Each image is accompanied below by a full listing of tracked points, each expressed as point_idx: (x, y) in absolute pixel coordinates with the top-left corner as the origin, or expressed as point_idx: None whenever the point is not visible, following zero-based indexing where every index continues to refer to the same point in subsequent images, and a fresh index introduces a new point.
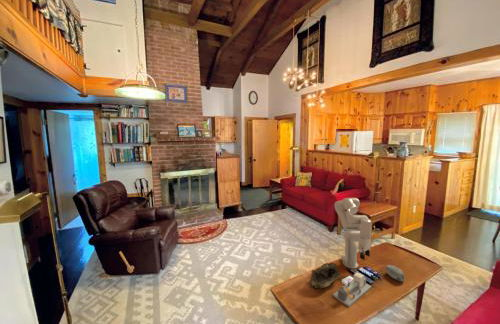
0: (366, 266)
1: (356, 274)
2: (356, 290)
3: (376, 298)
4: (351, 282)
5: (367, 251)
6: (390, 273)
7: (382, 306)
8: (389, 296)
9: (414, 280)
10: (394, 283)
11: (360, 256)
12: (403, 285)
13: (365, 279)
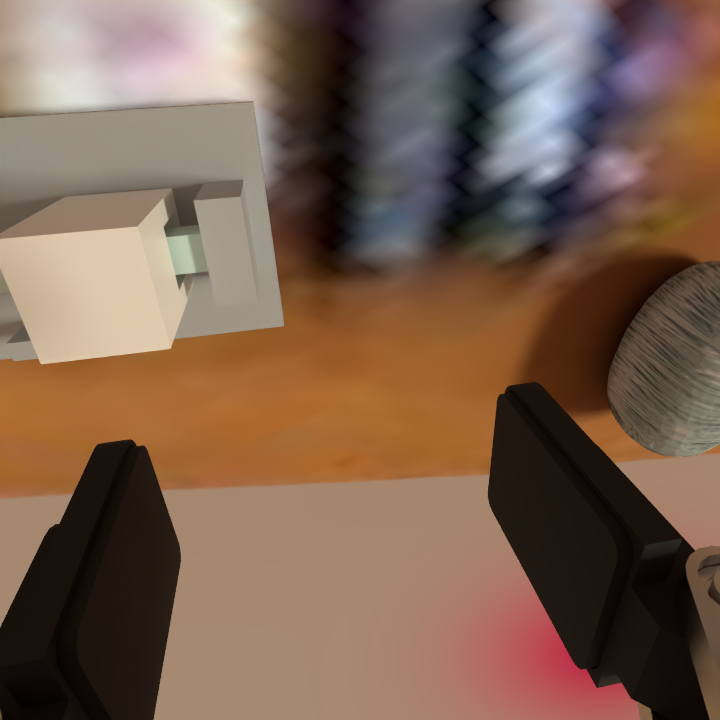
0: (681, 7)
1: (56, 263)
2: None
3: (187, 421)
4: (83, 140)
5: (585, 622)
6: (646, 350)
7: None
8: (327, 452)
9: None
10: (550, 382)
11: (79, 512)
12: None
13: (238, 302)
